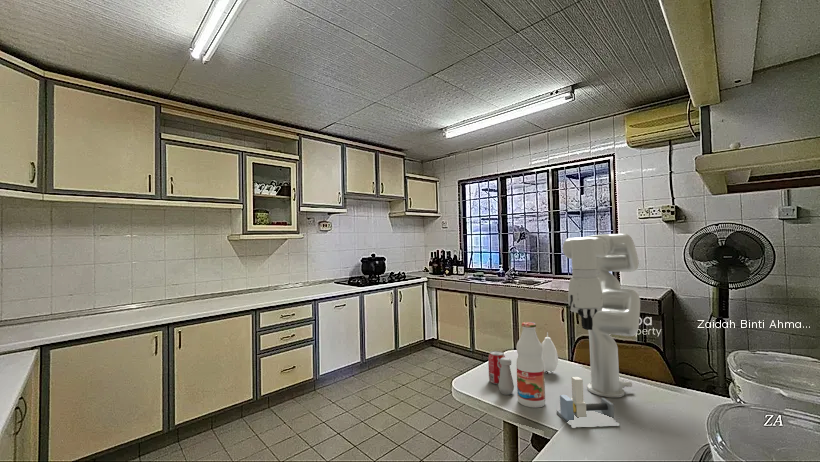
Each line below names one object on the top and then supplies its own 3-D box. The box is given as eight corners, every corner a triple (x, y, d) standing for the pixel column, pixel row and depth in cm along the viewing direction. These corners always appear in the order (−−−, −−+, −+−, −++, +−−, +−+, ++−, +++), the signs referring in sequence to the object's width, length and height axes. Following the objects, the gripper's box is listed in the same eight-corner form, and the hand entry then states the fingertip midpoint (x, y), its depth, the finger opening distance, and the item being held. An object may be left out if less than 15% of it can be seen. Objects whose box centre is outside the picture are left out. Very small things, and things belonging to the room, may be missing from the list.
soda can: (508, 381, 146) (507, 351, 146) (503, 386, 140) (502, 356, 140) (492, 378, 149) (491, 349, 150) (486, 383, 143) (485, 353, 144)
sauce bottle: (541, 375, 152) (540, 333, 153) (538, 369, 160) (536, 329, 161) (560, 376, 151) (558, 333, 152) (556, 370, 158) (554, 329, 159)
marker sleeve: (579, 411, 114) (578, 375, 115) (586, 417, 110) (585, 380, 110) (570, 411, 114) (569, 376, 114) (577, 417, 110) (575, 380, 110)
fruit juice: (550, 402, 124) (547, 323, 126) (537, 410, 118) (534, 327, 120) (526, 394, 131) (523, 319, 133) (512, 402, 125) (510, 323, 127)
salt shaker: (496, 390, 136) (495, 356, 137) (510, 389, 137) (509, 355, 138) (501, 396, 130) (500, 360, 131) (516, 395, 131) (515, 360, 132)
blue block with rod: (600, 411, 117) (599, 390, 118) (619, 426, 107) (618, 402, 108) (556, 413, 116) (555, 391, 117) (572, 428, 106) (571, 404, 107)
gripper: (598, 272, 123) (601, 325, 122) (557, 274, 122) (560, 327, 121) (612, 274, 116) (615, 330, 115) (569, 276, 114) (572, 333, 113)
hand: (587, 328), depth 118 cm, fingers closed
